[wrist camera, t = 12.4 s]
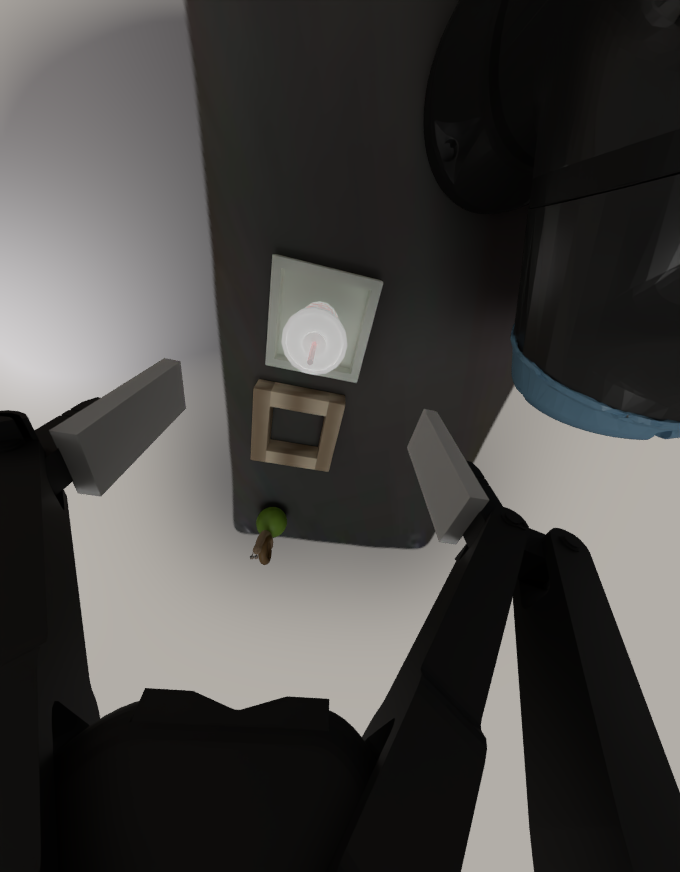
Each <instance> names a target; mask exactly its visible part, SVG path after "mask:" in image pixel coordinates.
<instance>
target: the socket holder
mask: <svg viewBox="0 0 680 872" xmlns="http://www.w3.org/2000/svg"><path fill="white" fill-rule="evenodd" d="M273 407H277V408H282V409H288V410H293V411H299V412H304V413H310V414H315V415H321V416H324V421H323V426H322V431H321V435H320V440H319V445H318V447H315V446H309V445H303V444H297V443H291V442H284V441H278V440H272V439H270V437H271V426H272V415H273ZM344 408H345V395H340V394H335V393H330V392H324V391H319V390H314V389H309V388H304V387H298V386H293V385H288V384H283V383H278V382H272V381H267V380H262V379H259V380H258V382H257V383H256V385H255V387H254V390H253V415H252V440H251V460H256V461H262V462H269V463H275V464H282V465H288V466H295V467H301V468H307V469H314V470H320V471H327V472H328V471H329V468H330V464H331V460H332V456H333V452H334V448H335V444H336V440H337V436H338V432H339V428H340V424H341V420H342V416H343V412H344Z"/></svg>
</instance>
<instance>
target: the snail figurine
mask: <svg viewBox="0 0 680 872" xmlns="http://www.w3.org/2000/svg"><path fill="white" fill-rule="evenodd" d="M286 525H287V518H286V515H285V513H284V512H283V511H282V510H281V509H279V508H277V507H269V508H266V509H264V510H263V511H262V512H261V513H260V514H259V516H258V518H257V521H256V526H257V529H258V531H259V533H260V534H259V536H258V538H257V541H256V544H255V546H254V548H253V552H254V553H255V554H256V555H255V556H253V554H252V556H250V559H253V558H255V559H257V558H258V556H259V560H260V562H261V564H263V565H266V564H268V563H269V562H270V559H271V552H272V550H271V549H272V547H273V538H274V537H277V536H279V535H280V534H282V533H283V531H284V530H285V528H286ZM257 554H258V556H257Z"/></svg>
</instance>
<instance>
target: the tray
mask: <svg viewBox="0 0 680 872" xmlns="http://www.w3.org/2000/svg"><path fill="white" fill-rule="evenodd" d="M382 286H383V282H382V281H381V280H378V279H374V278H370V277H366V276H362V275H358V274H354V273H350V272H346V271H342V270H338V269H334V268H330V267H326V266H322V265H318V264H314V263H310V262H306V261H302V260H298V259H294V258H290V257H286V256H282V255H278V254H273V255H272V269H271V285H270V301H269V317H268V332H267V348H266V364H265V365H269V366H274V367H279V368H284V369H289V370H294V371H299V372H301V371H300V370H298V369H297V368H295V367H294V366H292V364H291V363H290V362H289V360H288V359H287V357H286V356H285V354H284V350H283V347H282V343H281V341H282V333H283V328H284V327H285V325H286V323H287V322H288V320H289V318H290V317H291V316H292V315H294V314H295V313H297V312H298V311H300V310H301V309H304V308H305V307H307V306H308V305H310V304H311V303H313V302H319V301H320V302H324V303H328V304H329V305H330V306H331V307H333V308H334V310H335V312H336V313H337V315H338V318H339V320H340V322H341V324H342V325H343V327H344V329H345V331H346V338H347V349H346V353H345V357H344V359H343V360H342V361H341V363H340V364H339V365H338V366H337V368H335V369H333V370H331V371H330V372H328V373H326V374H319V376H324V377H329V378H334V379H339V380H344V381H349V382H354V383H357V380H358V376H359V372H360V369H361V365H362V361H363V357H364V354H365V350H366V346H367V342H368V339H369V335H370V331H371V327H372V323H373V320H374V316H375V312H376V308H377V305H378V301H379V297H380V293H381V290H382Z"/></svg>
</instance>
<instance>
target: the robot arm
mask: <svg viewBox="0 0 680 872" xmlns="http://www.w3.org/2000/svg"><path fill="white" fill-rule="evenodd" d="M424 135H425V144H426V151H427V156H428V160H429V163H430V166H431V169H432V172H433V174H434V177H435V179H436V181H437V183H438V184H439V186H440V187H441V189H442V190H443V192H444V193H445V194H446V195H447V196H448V198H450V199H451V200H452V201H453V202H454V203H455V204H457V205H458V206H460V207H462V208H464V209H466V210H468V211H471V212H475V213H480V214H494V213H500V212H505V211H509V210H513V209H517V208H520V207H522V206H525V205H527V204H529V203H530V206H529V209H528V216H527V225H526V234H525V243H524V252H523V260H522V269H521V278H520V287H519V296H518V303H517V310H516V318H515V324H514V325H513V328H512V332H511V343H512V347H513V357H512V379H513V382H514V384H515V387H516V389H517V390H518V391H519V392H520V393H521V394H523V396H524V397H525V400H526V401H527V402H528V403H530V404H531V405H532V406H534V407H535V408H536V409H538V410H539V411H541V412H542V413H544V414H546V415H548V416H549V417H551V418H553V419H555V420H558V421H560V422H562V423H565V424H567V425H570V426H573V427H576V428H579V429H582V430H585V431H589V432H593V433H597V434H601V435H606V436H612V437H618V438H625V439H637V440H648V439H650V438H652V437H653V436H654V435H656V436H658V437H661V438H664V439H670V438H679V437H680V0H459V2H458V4H457V6H456V8H455V10H454V12H453V14H452V16H451V19H450V21H449V23H448V25H447V27H446V29H445V31H444V33H443V36H442V38H441V40H440V43H439V46H438V48H437V51H436V54H435V57H434V60H433V64H432V68H431V71H430V76H429V80H428V85H427V91H426V98H425V108H424ZM180 364H181V363H180V361H176V360H171V359H165V358H164V359H163V360H161V361H159V362H158V363H156V364H154V365H153V366H151V367H150V368H148V369H146V370H145V371H143V372H142V373H140V374H139V375H137V376H135V377H134V378H132V379H131V380H129V381H128V382H126V383H124V384H123V385H121V386H120V387H118V388H116V389H115V390H113V391H111V392H110V393H108V394H107V395H105V396H103V397H102V398H99V397H97V398H93V399H91V400H87V401H84V402H81V403H80V404H78V405H76V406H75V407H73V408H72V409H71V410H68V411H66V412H65V413H63V414H62V416H58V417H56V418H55V419H53V420H51V421H50V422H48V423H46V424H45V425H43V426H41V427H40V428H38V429H36V430H34V429H33V427H32V425H31V423H30V421H29V419H28V417H27V416H26V414H24V413H21V412H18V411H9V410H7V411H0V872H461V869H462V864H463V859H464V855H465V850H466V846H467V841H468V837H469V832H470V828H471V823H472V819H473V814H474V810H475V805H476V801H477V796H478V791H479V786H480V782H481V778H482V773H483V769H484V765H485V759H486V751H487V744H486V738H485V736H484V735H483V733H482V731H481V720H482V716H483V712H484V708H485V704H486V700H487V696H488V691H489V688H490V684H491V680H492V676H493V672H494V668H495V664H496V660H497V656H498V652H499V648H500V644H501V640H502V636H503V632H504V629H505V625H506V621H507V617H508V613H509V609H510V605H511V601H512V597H513V605H514V620H515V633H516V647H517V659H518V660H517V661H518V674H519V689H520V703H521V717H522V731H523V744H524V758H525V772H526V787H527V800H528V815H529V828H530V838H531V847H532V856H533V865H534V872H680V792H679V789H678V787H677V784H676V781H675V779H674V776H673V773H672V771H671V768H670V765H669V763H668V760H667V757H666V755H665V752H664V749H663V747H662V744H661V741H660V739H659V736H658V733H657V730H656V728H655V725H654V723H653V720H652V717H651V715H650V712H649V709H648V707H647V704H646V701H645V699H644V696H643V693H642V690H641V688H640V685H639V682H638V680H637V677H636V675H635V672H634V669H633V666H632V664H631V661H630V658H629V656H628V653H627V650H626V648H625V645H624V642H623V640H622V637H621V635H620V632H619V629H618V626H617V624H616V621H615V618H614V616H613V613H612V610H611V608H610V605H609V603H608V600H607V597H606V594H605V592H604V589H603V586H602V584H601V581H600V578H599V576H598V573H597V571H596V568H595V565H594V562H593V560H592V557H591V554H590V552H589V550H588V549H587V547H586V546H585V545H584V544H583V542H582V541H581V540H580V539H579V538H578V537H576V536H575V535H573V534H571V533H569V532H567V531H566V530H563V529H560V528H553V529H552V530H550V531H549V532H548V533H547V534H546V535H545V534H543V533H540V532H538V531H535V530H532V529H530V528H529V526H528V525H527V523H526V521H525V520H524V519H523V518H522V517H521V516H520V515H518V514H517V513H516V512H514V511H512V510H510V509H508V508H505V507H503V506H502V504H501V503H500V501H499V500H498V498H497V497H496V495H495V493H494V492H493V490H492V489H491V487H490V486H489V484H488V482H487V481H486V479H484V476H483V474H482V473H481V471H480V470H479V469H478V468H477V467H476V466H475V465H474V464H473V463H472V462H469V461H466V460H465V458H464V457H463V455H462V453H461V452H460V450H459V448H458V447H457V445H456V443H455V442H454V440H453V438H452V436H451V435H450V433H449V431H448V430H447V428H446V426H445V425H444V423H443V421H442V420H441V418H440V416H439V415H438V413H437V412H436V411H431V410H426V409H424V410H423V412H422V415H421V417H420V419H419V421H418V424H417V426H416V428H415V431H414V433H413V435H412V437H411V440H410V442H409V444H408V446H407V449H408V452H409V454H410V457H411V460H412V463H413V466H414V469H415V472H416V475H417V478H418V481H419V484H420V487H421V490H422V493H423V496H424V499H425V502H426V505H427V507H428V510H429V513H430V516H431V519H432V522H433V525H434V528H435V531H436V534H437V537H438V540H439V542H443V543H450V544H457V543H458V541H459V540H460V538H461V537H462V536H464V539H465V541H466V543H467V544H466V545H465V546H464V548H463V549H462V550H461V552H460V553H459V554H458V555H457V557H456V558H455V560H456V563H455V565H454V567H453V569H452V570H451V572H450V574H449V576H448V578H447V580H446V582H445V584H444V586H443V588H442V590H441V592H440V594H439V596H438V598H437V600H436V601H435V603H434V605H433V607H432V609H431V611H430V613H429V615H428V617H427V619H426V621H425V623H424V625H423V627H422V629H421V630H420V632H419V634H418V636H417V638H416V640H415V642H414V644H413V646H412V648H411V650H410V652H409V654H408V656H407V658H406V660H405V661H404V663H403V666H402V667H401V669H400V671H399V673H398V675H397V677H396V679H395V681H394V683H393V685H392V687H391V689H390V691H389V692H388V694H387V696H386V698H385V700H384V702H383V703H382V705H381V707H380V708H379V709H378V711H377V712H376V714H375V715H374V717H373V719H372V720H371V722H370V724H369V726H368V727H367V729H366V731H365V733H364V735H363V736H362V737H361V736H360V735H359V733H358V732H357V731H356V730H355V729H354V728H353V727H352V726H351V725H350V724H349V723H348V722H347V721H346V720H345V719H343V718H342V717H340V716H339V715H337V714H336V713H333V712H332V711H329V699H320V698H304V697H283V698H280V699H277V700H273V701H270V702H266V703H263V704H259V705H256V706H252V707H249V708H245V709H242V710H234V709H232V708H229V707H227V706H225V705H223V704H220V703H218V702H216V701H214V700H212V699H210V698H207V697H205V696H203V695H201V694H199V693H196V692H194V691H185V690H168V689H149V688H145V690H144V692H143V695H142V697H141V699H140V701H138V702H134V703H132V704H129V705H127V706H124V707H121V708H119V709H117V710H115V711H113V712H112V713H110V714H108V715H106V716H104V717H102V718H101V719H100V715H99V710H98V706H97V702H96V699H95V696H94V694H93V691H92V688H91V684H90V679H89V672H88V665H87V656H86V648H85V640H84V632H83V624H82V616H81V608H80V600H79V591H78V583H77V575H76V567H75V559H74V551H73V543H72V535H71V526H70V519H69V510H68V502H67V496H66V494H65V492H64V490H63V489H64V488H66V487H67V486H68V485H69V484H70V483H71V482H72V481H73V484H74V486H75V488H76V490H77V492H78V493H80V494H87V495H95V496H102V495H103V494H104V493H105V492H106V491H107V490H108V489H109V488H110V487H111V485H112V484H113V483H114V482H115V481H116V480H117V479H118V478H119V477H120V476H121V475H122V474H123V473H124V472H125V471H126V470H127V469H128V468H129V467H130V466H131V465H132V464H133V463H134V462H135V461H136V459H137V458H138V457H139V456H140V455H141V454H142V453H143V452H144V451H145V450H146V449H147V448H148V447H149V446H150V445H151V444H152V443H153V442H154V441H155V440H156V439H157V438H158V436H160V435H161V434H162V432H163V431H164V430H165V429H166V428H167V427H168V426H169V425H170V424H171V423H172V422H173V421H174V420H175V419H176V418H177V417H178V416H179V415H180V414H181V413H182V412H183V411H184V410H185V409H186V406H185V397H184V389H183V380H182V372H181V365H180Z"/></svg>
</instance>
